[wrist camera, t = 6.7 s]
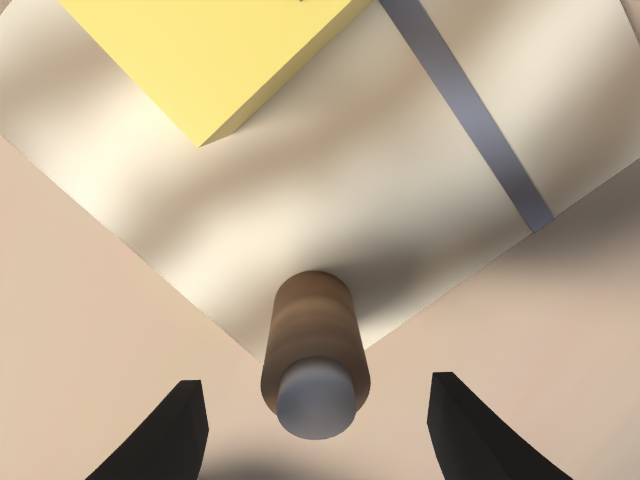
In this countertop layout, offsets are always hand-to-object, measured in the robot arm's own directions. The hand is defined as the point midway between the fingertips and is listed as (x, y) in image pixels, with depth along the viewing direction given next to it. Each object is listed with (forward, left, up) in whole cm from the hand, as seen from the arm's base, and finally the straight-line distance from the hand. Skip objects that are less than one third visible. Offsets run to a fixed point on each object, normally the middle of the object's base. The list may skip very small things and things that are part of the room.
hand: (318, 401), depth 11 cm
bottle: (0, 0, -6) cm, 6 cm away
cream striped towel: (-6, +6, -7) cm, 11 cm away
